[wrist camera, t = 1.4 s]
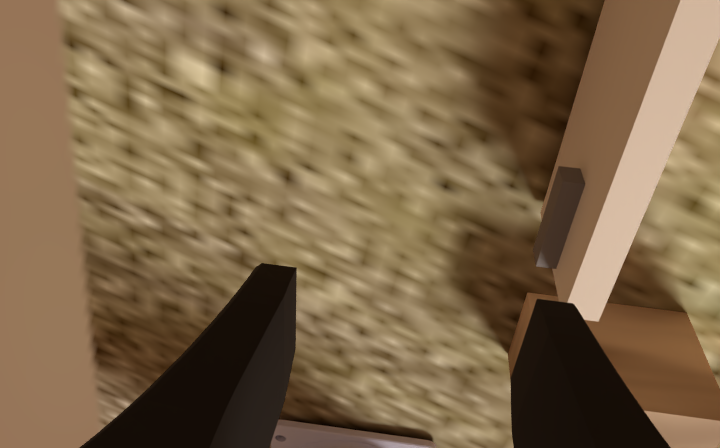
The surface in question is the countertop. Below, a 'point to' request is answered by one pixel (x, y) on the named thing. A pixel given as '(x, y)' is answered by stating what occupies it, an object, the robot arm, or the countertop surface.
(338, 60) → the countertop surface
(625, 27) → the door
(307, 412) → the countertop surface
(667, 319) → the block
